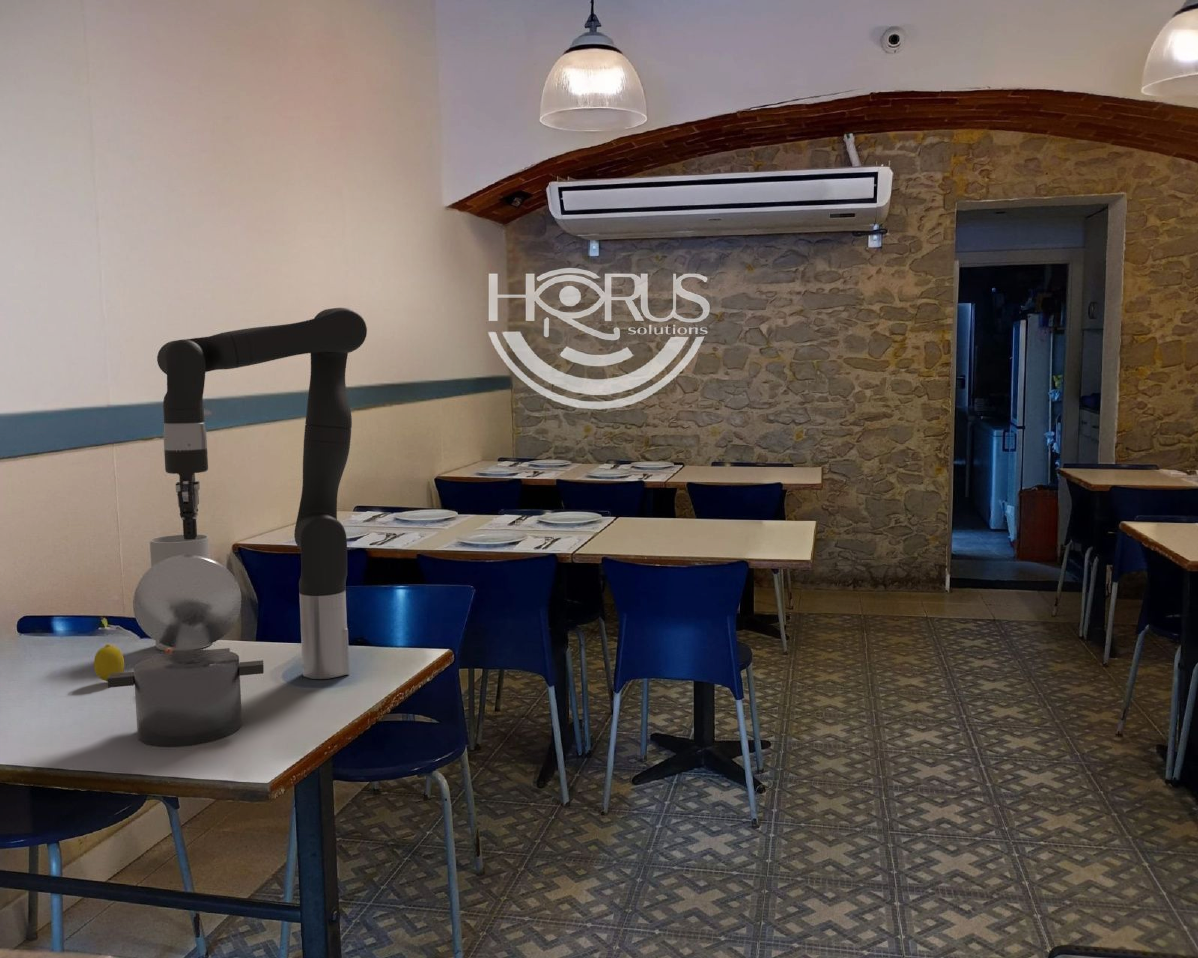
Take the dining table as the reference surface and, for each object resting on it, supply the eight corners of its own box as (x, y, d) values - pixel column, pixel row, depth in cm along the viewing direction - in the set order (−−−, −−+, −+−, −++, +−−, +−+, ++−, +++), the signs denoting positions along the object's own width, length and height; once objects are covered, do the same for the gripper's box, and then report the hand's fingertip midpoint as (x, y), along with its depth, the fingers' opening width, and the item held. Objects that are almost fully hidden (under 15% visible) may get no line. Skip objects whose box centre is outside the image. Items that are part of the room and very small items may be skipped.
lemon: (101, 679, 212) (99, 641, 211) (129, 678, 213) (127, 640, 212) (90, 687, 207) (88, 648, 206) (119, 686, 207) (116, 647, 206)
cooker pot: (266, 705, 194) (263, 642, 192) (265, 737, 176) (262, 668, 175) (121, 719, 186) (117, 654, 185) (104, 754, 169) (100, 682, 168)
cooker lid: (243, 644, 191) (244, 634, 194) (238, 554, 185) (238, 546, 188) (137, 653, 185) (140, 642, 189) (128, 561, 179) (131, 552, 183)
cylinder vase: (208, 650, 234) (202, 541, 231) (149, 654, 232) (143, 543, 229) (218, 637, 246) (213, 533, 244) (163, 640, 244) (157, 535, 242)
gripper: (204, 448, 189) (209, 542, 190) (209, 444, 202) (213, 532, 203) (160, 450, 186) (165, 545, 188) (167, 445, 199) (172, 534, 201)
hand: (190, 538), depth 196 cm, fingers closed
